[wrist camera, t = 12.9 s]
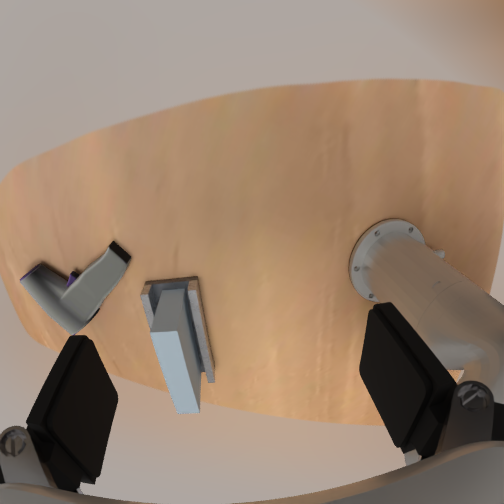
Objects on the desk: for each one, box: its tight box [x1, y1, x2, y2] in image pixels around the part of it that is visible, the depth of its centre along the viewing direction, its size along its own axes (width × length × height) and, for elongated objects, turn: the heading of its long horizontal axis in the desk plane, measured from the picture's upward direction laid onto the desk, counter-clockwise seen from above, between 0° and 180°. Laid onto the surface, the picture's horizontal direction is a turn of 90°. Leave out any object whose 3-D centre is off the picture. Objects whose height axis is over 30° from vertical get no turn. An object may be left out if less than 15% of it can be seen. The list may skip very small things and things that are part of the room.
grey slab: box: [150, 289, 201, 414], centre depth 38 cm, size 14×3×9 cm, turn 4°
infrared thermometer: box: [20, 241, 131, 335], centre depth 36 cm, size 5×12×15 cm
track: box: [140, 276, 215, 383], centre depth 41 cm, size 16×7×4 cm, turn 4°
